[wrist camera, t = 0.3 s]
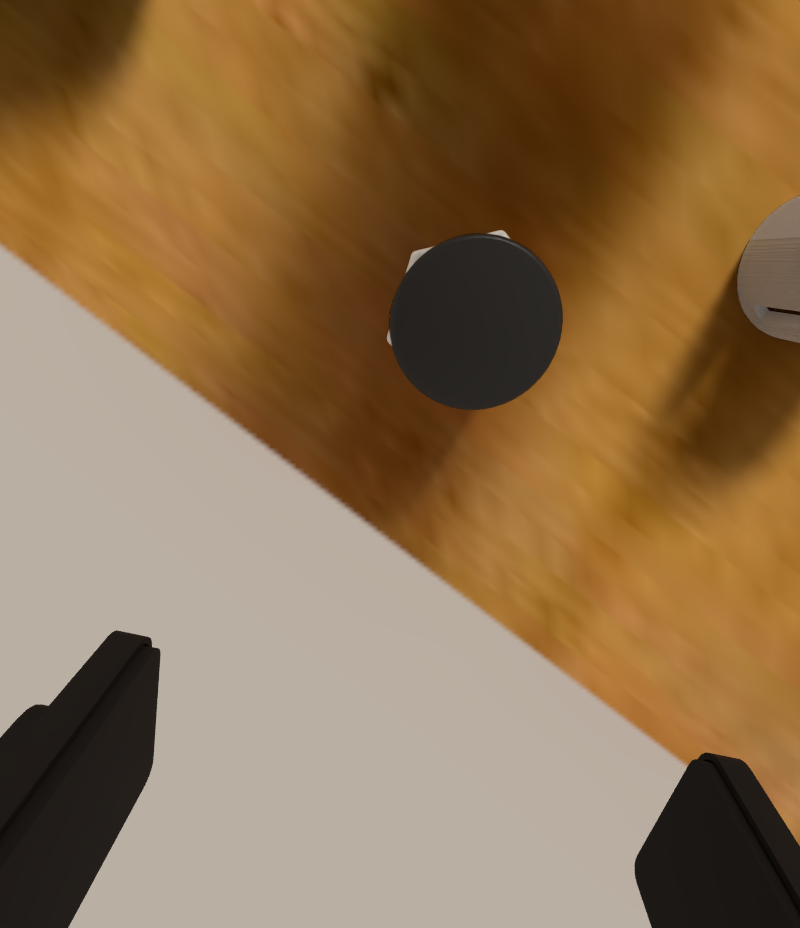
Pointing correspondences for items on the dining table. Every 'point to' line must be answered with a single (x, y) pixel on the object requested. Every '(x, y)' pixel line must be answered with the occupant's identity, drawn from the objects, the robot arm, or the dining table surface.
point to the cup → (773, 273)
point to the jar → (475, 320)
